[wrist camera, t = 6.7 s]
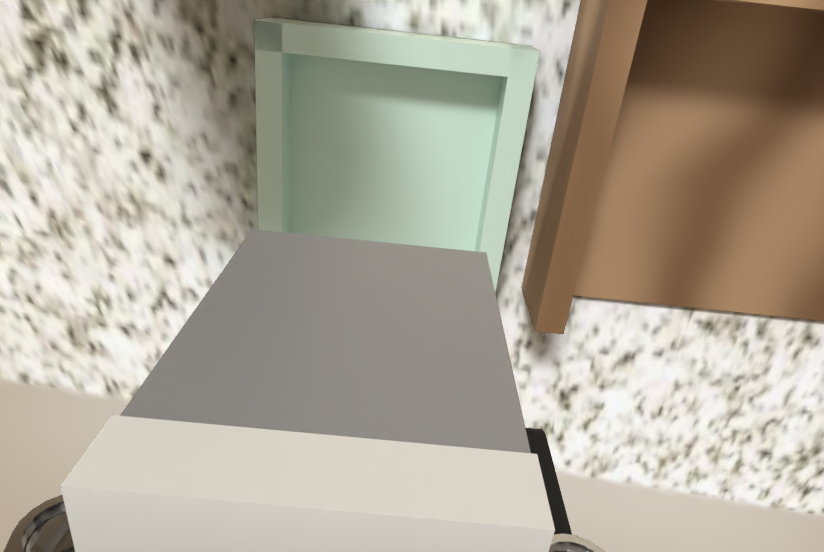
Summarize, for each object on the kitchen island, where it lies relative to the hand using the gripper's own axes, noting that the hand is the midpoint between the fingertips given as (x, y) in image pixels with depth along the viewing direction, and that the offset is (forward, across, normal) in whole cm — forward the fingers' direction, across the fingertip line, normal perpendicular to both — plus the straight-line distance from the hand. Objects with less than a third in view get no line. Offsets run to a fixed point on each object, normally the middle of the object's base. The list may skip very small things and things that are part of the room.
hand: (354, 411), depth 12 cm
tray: (+16, 0, 0) cm, 16 cm away
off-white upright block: (+1, 0, 0) cm, 1 cm away
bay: (+16, -15, -2) cm, 22 cm away
